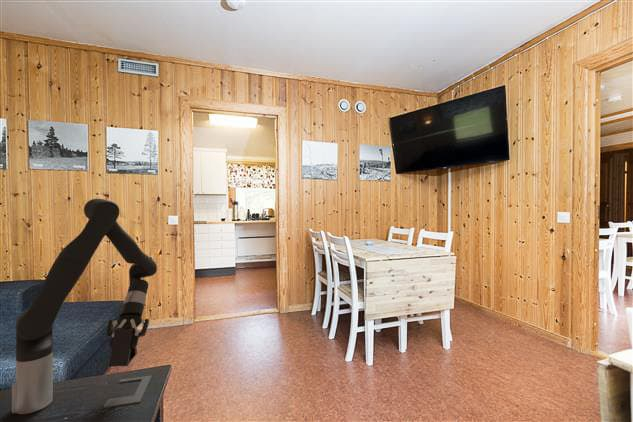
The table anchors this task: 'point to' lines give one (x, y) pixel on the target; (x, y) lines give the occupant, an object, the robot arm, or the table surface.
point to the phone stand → (122, 347)
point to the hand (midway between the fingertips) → (122, 348)
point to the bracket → (130, 399)
